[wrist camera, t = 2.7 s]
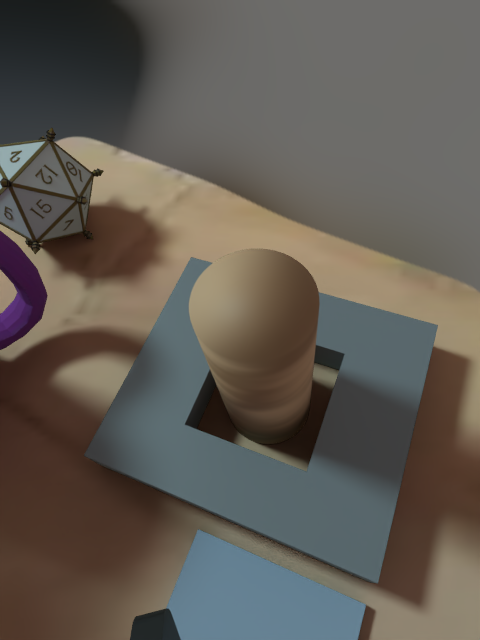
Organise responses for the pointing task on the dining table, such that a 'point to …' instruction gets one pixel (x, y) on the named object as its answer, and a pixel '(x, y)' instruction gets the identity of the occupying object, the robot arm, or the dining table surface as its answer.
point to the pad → (255, 599)
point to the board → (264, 472)
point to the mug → (20, 293)
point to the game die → (43, 191)
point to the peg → (259, 339)
